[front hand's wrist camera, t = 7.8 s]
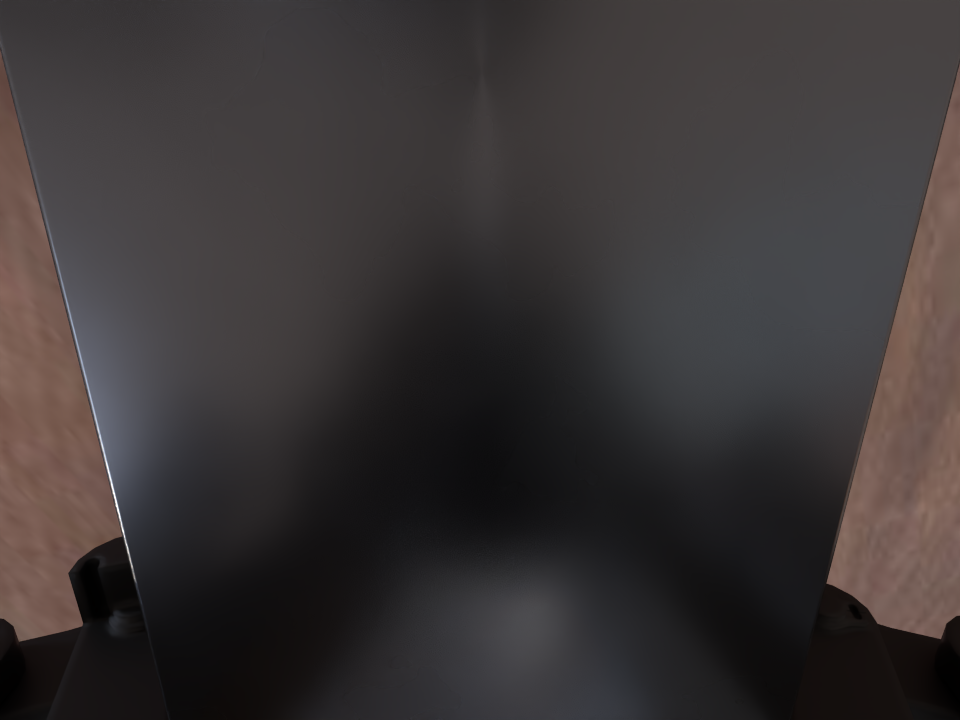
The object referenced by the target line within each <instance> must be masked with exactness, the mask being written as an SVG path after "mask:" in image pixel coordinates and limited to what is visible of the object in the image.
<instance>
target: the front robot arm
mask: <svg viewBox="0 0 960 720" xmlns="http://www.w3.org/2000/svg"><path fill="white" fill-rule="evenodd" d="M68 574H69V577H70V581H71V584H72V587H73V591H74V594H75V597H76V601H77V604H78V607H79V611H80V614H81V617H82V621H83V626H82V627H79V628H75V629H72V630H69V631H64V632H60V633H56V634H51V635H47V636H43V637H38V638H34V639H30V640H25V641H21V642H19V641H18V638H17V635H16V632H15V629H14V627H13V626H12V625H11V624H10V623H8V622H7V621H6V620H4V619H0V720H168V716H167V712H166V708H165V704H164V700H163V696H162V692H161V688H160V684H159V680H158V676H157V672H156V668H155V664H154V660H153V656H152V652H151V648H150V644H149V640H148V636H147V632H146V628H145V624H144V620H143V616H142V612H141V608H140V604H139V600H138V596H137V592H136V588H135V584H134V580H133V576H132V572H131V568H130V564H129V560H128V556H127V552H126V548H125V544H124V540H123V537H119V538H115V539H113V540H111V541H109V542H106V543H104V544H102V545H100V546H98V547H96V548H94V549H93V550H91V551H90V552H89V553H87V554H86V555H85V556H83V557H82V558H80V559H79V560H78V561H77V562H76V564H75V565H74V566H73V568H72V569H71V570H70V572H69V573H68ZM791 720H960V616H956V617H955V618H953V619H952V620H951V621H949V622H948V623H947V624H946V627H945V630H944V633H943V635H942V638H941V639H937V638H933V637H928V636H924V635H920V634H915V633H911V632H907V631H902V630H898V629H893V628H890V627H886V626H883V625H880V624H877V622H876V621H875V619H874V618H873V616H872V615H871V613H870V612H869V610H868V609H867V608H866V607H865V606H864V605H863V604H861V603H860V602H859V601H858V600H857V599H855V598H854V597H853V596H852V595H850V594H848V593H846V592H844V591H842V590H840V589H838V588H836V587H835V586H833V585H829V584H826V586H825V590H824V594H823V598H822V602H821V606H820V610H819V614H818V618H817V622H816V625H815V629H814V633H813V637H812V641H811V645H810V649H809V653H808V657H807V661H806V664H805V668H804V672H803V676H802V680H801V684H800V688H799V692H798V696H797V700H796V703H795V707H794V711H793V715H792V719H791Z"/></svg>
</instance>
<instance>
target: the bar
mask: <svg viewBox="0 0 960 720" xmlns="http://www.w3.org/2000/svg"><path fill="white" fill-rule="evenodd" d="M0 50H1V54H2V58H3V62H4V66H5V70H6V74H7V78H8V82H9V86H10V90H11V94H12V98H13V102H14V106H15V110H16V114H17V118H18V122H19V125H20V129H21V133H22V137H23V141H24V145H25V149H26V153H27V157H28V161H29V165H30V169H31V173H32V177H33V181H34V185H35V189H36V193H37V197H38V201H39V205H40V209H41V213H42V217H43V221H44V225H45V229H46V233H47V237H48V241H49V245H50V249H51V253H52V257H53V261H54V265H55V269H56V273H57V277H58V281H59V285H60V289H61V293H62V297H63V301H64V305H65V309H66V313H67V317H68V321H69V325H70V329H71V333H72V337H73V341H74V345H75V349H76V353H77V357H78V361H79V365H80V369H81V373H82V377H83V381H84V385H85V389H86V393H87V397H88V401H89V405H90V409H91V413H92V417H93V421H94V425H95V428H96V432H97V436H98V440H99V444H100V448H101V452H102V456H103V460H104V464H105V468H106V472H107V476H108V480H109V484H110V488H111V492H112V496H113V500H114V504H115V508H116V512H117V516H118V520H119V524H120V528H121V532H122V536H123V540H124V544H125V548H126V552H127V556H128V560H129V564H130V568H131V572H132V576H133V580H134V584H135V588H136V592H137V596H138V600H139V604H140V608H141V612H142V616H143V620H144V624H145V628H146V632H147V636H148V640H149V644H150V648H151V652H152V656H153V660H154V664H155V668H156V672H157V676H158V680H159V684H160V688H161V692H162V696H163V700H164V704H165V708H166V712H167V716H168V720H791V719H792V715H793V711H794V707H795V703H796V700H797V696H798V692H799V688H800V684H801V680H802V676H803V672H804V668H805V664H806V661H807V657H808V653H809V649H810V645H811V641H812V637H813V633H814V629H815V625H816V622H817V618H818V614H819V610H820V606H821V602H822V598H823V594H824V590H825V586H826V583H827V579H828V575H829V571H830V567H831V563H832V559H833V555H834V551H835V547H836V544H837V540H838V536H839V532H840V528H841V524H842V520H843V516H844V512H845V508H846V505H847V501H848V497H849V493H850V489H851V485H852V481H853V477H854V473H855V469H856V466H857V462H858V458H859V454H860V450H861V446H862V442H863V438H864V434H865V430H866V427H867V423H868V419H869V415H870V411H871V407H872V403H873V399H874V395H875V391H876V388H877V384H878V380H879V376H880V372H881V368H882V364H883V360H884V356H885V352H886V349H887V345H888V341H889V337H890V333H891V329H892V325H893V321H894V317H895V313H896V310H897V306H898V302H899V298H900V294H901V290H902V286H903V282H904V278H905V274H906V271H907V267H908V263H909V259H910V255H911V251H912V247H913V243H914V239H915V235H916V232H917V228H918V224H919V220H920V216H921V212H922V208H923V204H924V200H925V196H926V193H927V189H928V185H929V181H930V177H931V173H932V169H933V165H934V161H935V157H936V154H937V150H938V146H939V142H940V138H941V134H942V130H943V126H944V122H945V118H946V115H947V111H948V107H949V103H950V99H951V95H952V91H953V87H954V83H955V79H956V76H957V72H958V68H959V64H960V0H0Z"/></svg>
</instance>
